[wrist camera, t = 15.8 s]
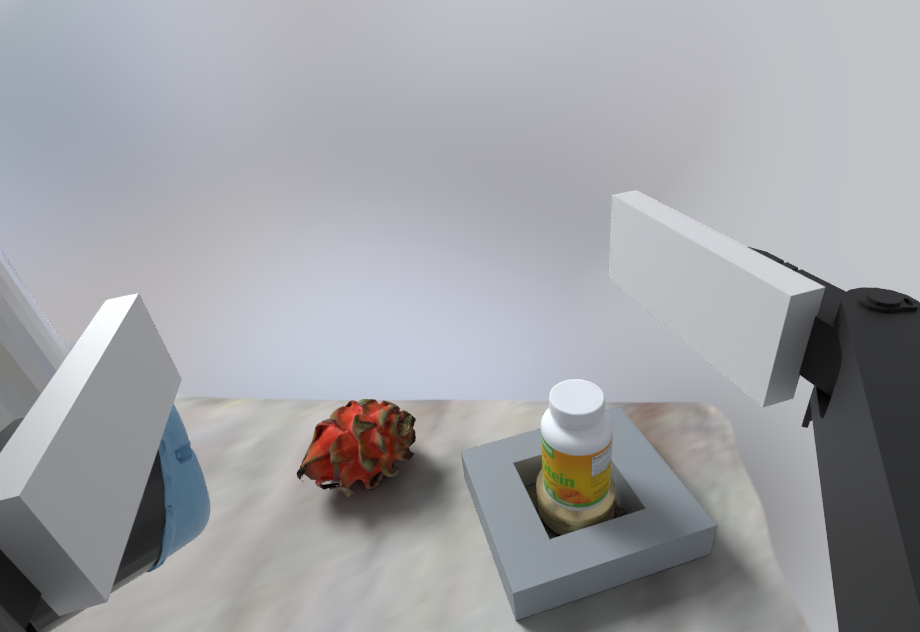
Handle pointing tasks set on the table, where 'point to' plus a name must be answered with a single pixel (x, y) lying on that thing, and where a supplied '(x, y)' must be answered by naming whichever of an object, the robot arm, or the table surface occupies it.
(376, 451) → the dragon fruit
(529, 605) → the socket plate
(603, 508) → the plunger disc
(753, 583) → the table surface
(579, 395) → the supplement bottle
